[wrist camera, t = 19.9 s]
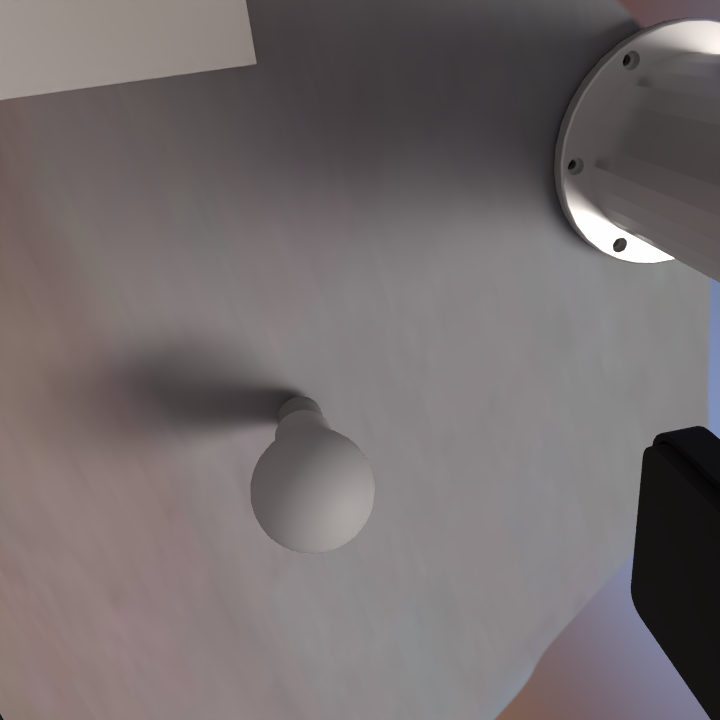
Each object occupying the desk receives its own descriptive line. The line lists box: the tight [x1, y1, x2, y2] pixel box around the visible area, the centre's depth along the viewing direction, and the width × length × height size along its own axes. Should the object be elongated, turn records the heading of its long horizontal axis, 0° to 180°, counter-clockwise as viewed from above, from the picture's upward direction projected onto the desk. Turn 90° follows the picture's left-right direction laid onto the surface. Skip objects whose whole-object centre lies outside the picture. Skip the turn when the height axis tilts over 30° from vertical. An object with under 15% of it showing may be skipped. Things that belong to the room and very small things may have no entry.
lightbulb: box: [251, 397, 375, 554], centre depth 36 cm, size 6×6×11 cm
